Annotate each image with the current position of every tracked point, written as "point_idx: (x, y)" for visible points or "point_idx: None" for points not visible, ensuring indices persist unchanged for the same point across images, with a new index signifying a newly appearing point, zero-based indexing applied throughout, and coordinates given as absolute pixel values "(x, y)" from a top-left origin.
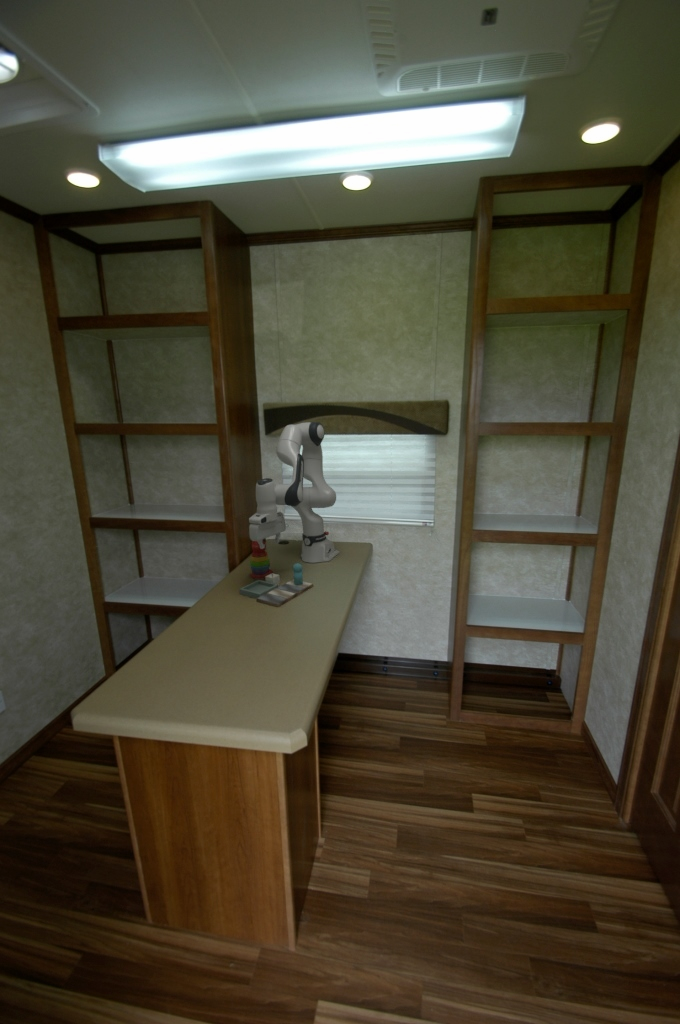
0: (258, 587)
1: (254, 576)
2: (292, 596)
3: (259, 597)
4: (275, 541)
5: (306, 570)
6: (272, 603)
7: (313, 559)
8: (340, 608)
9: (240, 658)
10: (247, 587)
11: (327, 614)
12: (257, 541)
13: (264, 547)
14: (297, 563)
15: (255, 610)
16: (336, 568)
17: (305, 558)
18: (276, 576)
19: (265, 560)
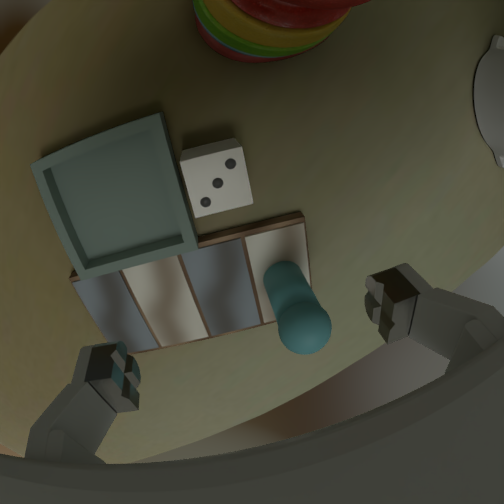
0: (126, 168)
1: (197, 20)
2: (188, 342)
3: (80, 281)
4: (378, 302)
5: (421, 156)
6: (106, 339)
7: (489, 128)
8: (244, 418)
9: (14, 413)
10: (71, 157)
11: (203, 421)
12: (34, 432)
13: (133, 377)
14: (313, 347)
15: (53, 321)
16: (464, 233)
17: (485, 91)
18: (228, 209)
19: (282, 47)
